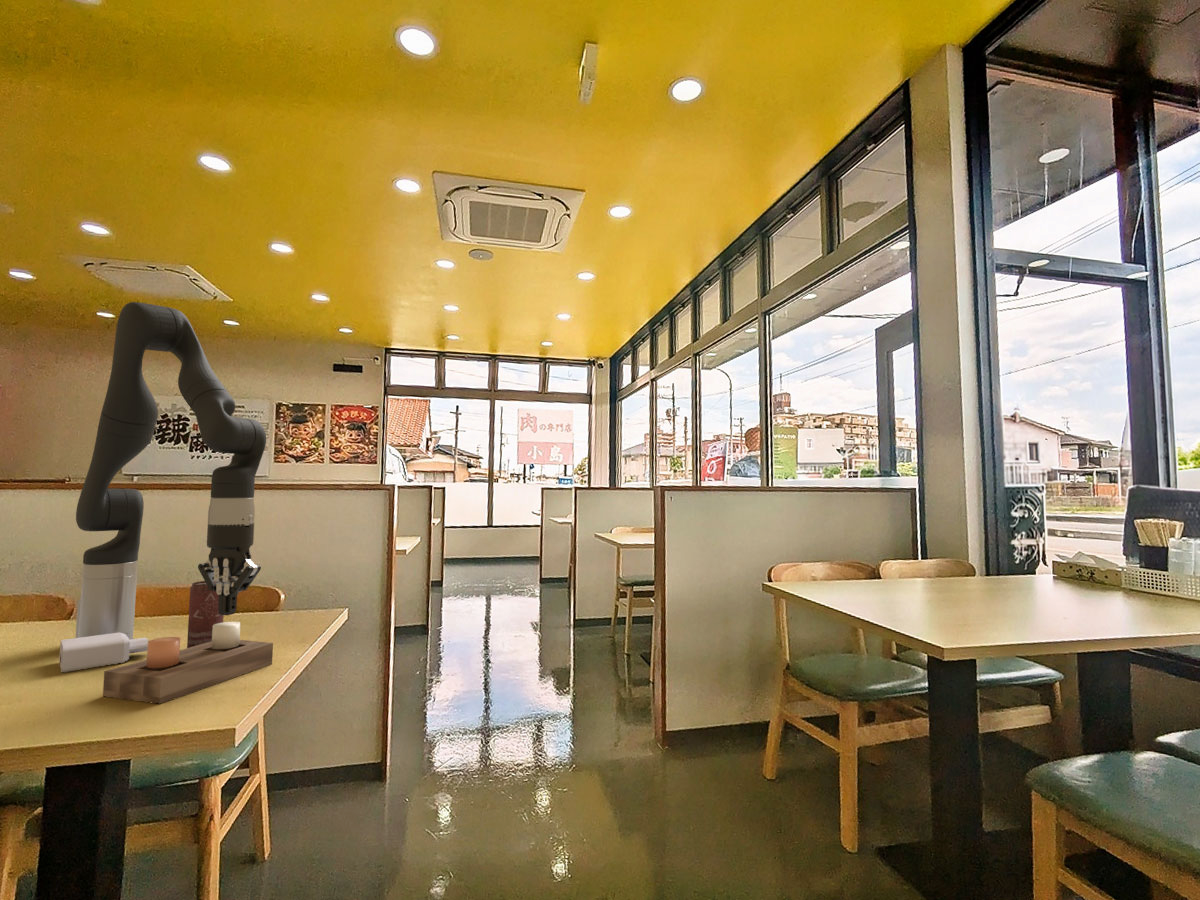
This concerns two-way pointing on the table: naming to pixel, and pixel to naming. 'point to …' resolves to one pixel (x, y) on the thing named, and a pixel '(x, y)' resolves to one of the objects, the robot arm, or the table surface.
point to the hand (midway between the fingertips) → (227, 614)
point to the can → (202, 614)
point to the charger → (98, 651)
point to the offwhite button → (225, 635)
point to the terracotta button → (163, 652)
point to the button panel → (186, 672)
